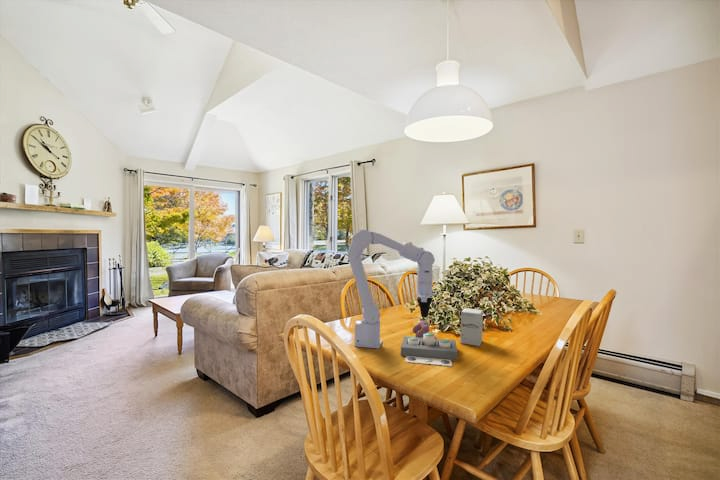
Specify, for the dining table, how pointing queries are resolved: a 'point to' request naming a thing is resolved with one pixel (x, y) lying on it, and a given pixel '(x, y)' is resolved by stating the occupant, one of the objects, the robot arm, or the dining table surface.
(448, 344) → the button right
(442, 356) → the button board
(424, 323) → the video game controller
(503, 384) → the dining table surface
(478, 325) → the supplement box
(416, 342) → the button left
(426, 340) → the button middle
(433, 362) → the card
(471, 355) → the dining table surface
